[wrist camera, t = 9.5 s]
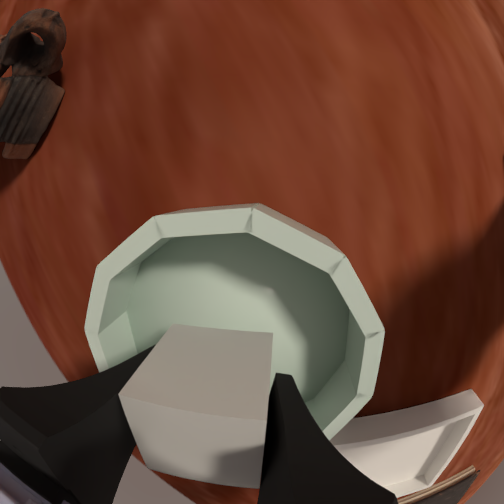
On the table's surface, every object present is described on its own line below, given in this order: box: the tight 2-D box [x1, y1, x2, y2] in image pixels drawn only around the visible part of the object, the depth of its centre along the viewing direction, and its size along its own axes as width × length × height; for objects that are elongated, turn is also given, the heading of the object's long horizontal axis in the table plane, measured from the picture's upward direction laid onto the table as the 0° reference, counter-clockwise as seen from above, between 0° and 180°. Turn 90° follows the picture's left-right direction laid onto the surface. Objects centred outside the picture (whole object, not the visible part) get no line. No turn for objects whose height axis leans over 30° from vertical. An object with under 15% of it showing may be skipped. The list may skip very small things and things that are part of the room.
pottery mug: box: [0, 8, 66, 159], centre depth 9 cm, size 12×10×8 cm
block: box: [118, 324, 273, 489], centre depth 9 cm, size 4×4×5 cm
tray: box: [329, 389, 484, 498], centre depth 14 cm, size 14×12×2 cm
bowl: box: [84, 203, 385, 440], centre depth 12 cm, size 13×13×4 cm
